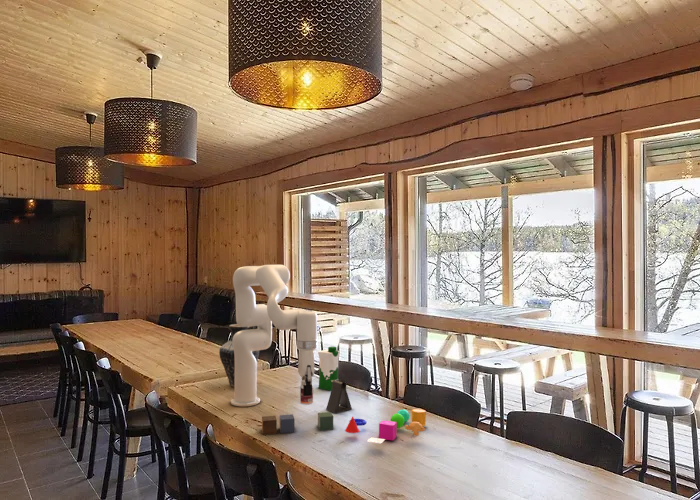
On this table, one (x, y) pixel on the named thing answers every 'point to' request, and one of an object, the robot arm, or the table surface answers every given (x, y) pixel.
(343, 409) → the phone stand
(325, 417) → the dark green block
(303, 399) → the pill bottle
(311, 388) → the robot arm
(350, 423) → the shape set
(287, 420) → the slate blue block
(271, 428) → the walnut block
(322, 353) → the milk carton
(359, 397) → the table surface
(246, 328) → the jug
